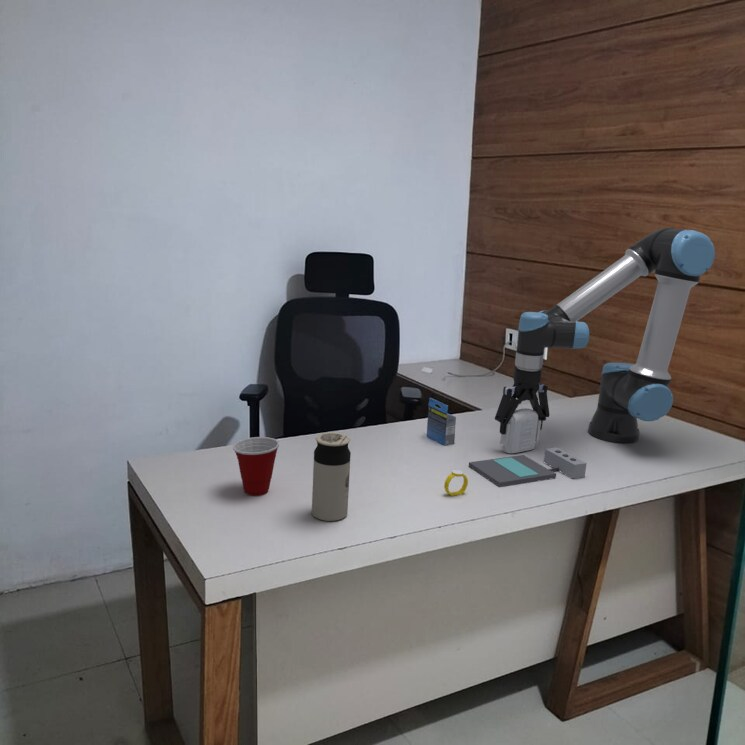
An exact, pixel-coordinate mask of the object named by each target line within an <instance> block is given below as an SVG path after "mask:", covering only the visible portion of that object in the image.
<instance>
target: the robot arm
mask: <svg viewBox="0 0 745 745" xmlns="http://www.w3.org/2000/svg"><path fill="white" fill-rule="evenodd" d="M715 257H716V249H715V246H714V243H713V242H712V240H711V239H710V237H709V236H707V235H706V233H705V234H704V233H703V232H700V231H698V230H694V229H684V228H674V227H664V228H660V229H657V230H655V231H653V232H651V233H649V234H647V235H646V236H645V237H643V238H641V239H640V240H639V241H636V242H635V243H634V244H633V245H631V246H630V247H629V248H627V249H626V250H625V254H624V255H623V256H622V257H621V258H619V259H618V260H616V261H614V262H613V263H612V264H610V266H608V267H607V268H605V269H604V270H603V271H601V272H600V273H598V275H596V276H594V277H593V278H592V279H590V280H589V281H588V282H586V283H585V284H583V285H582V286H580V287H579V288H578V289H577V290H575V291H574V292H573V293H571V294H570V295H568V296H567V297H565V298H564V299H563V300H561V301H560V302H558V303H557V304H556V305H554V306H553V307H552V308H550V309H548V310H540V311H537V312H536V311H526V312H525V311H524V312H523V313H522V314H521V315H520V317H519V318H520V319H519V324H518V328H517V330H518V332H517V343H516V344H517V345H516V351H515V359H514V365H515V367H514V370H513V376H512V377H513V378H512V379H513V385H512V386H511V387H507V386H504V387H503V389H502V396H501V400H500V401H499V405H498V408H497V411H496V413H495V417H494V421H497V422H499V423H500V424H499V434H500V440H499V443H500V445H502V446H503V445H504V446H508V441H509V432H510V424H509V423H508V422H509V420H510V419H511V417H512V415H513V414H514V412H515V410H517V408H518V407H519V405H521V404H522V402H524V401H529V403H530V405H531V409H532V410H535V411H536V412H537V414H538V424H537V431H536V439H535V443H539V442H540V435H541V434H540V432H541V431H542V429H543V422H545V421H546V420H547V418H549V417H550V414H551V413H550V409H549V408H550V407H549V400H548V388H549V387H548V385H546V384H543V383H540V382H541V379H542V370H541V369H543V365H544V355H545V348H546V349H552V348H553V349H570V350H575V349H583V348H585V347H586V346H587V345H588V343H589V342H590V340H589V339H590V329H589V326H588V324H587V323H586V322H584V321H579V320H581V319H582V318H583V317H585V316H587V315H588V314H590V312H592V311H594V310H595V309H596V308H597V307H599V306H600V305H602V304H603V303H605V302H606V301H607V300H609V299H610V298H612V297H613V296H615V295H616V294H618V293H619V292H620V291H621V290H623V289H624V288H625V287H627V286H628V285H630V284H631V283H633V282H634V281H636V280H637V279H638V278H639V277H647V276H648V275H651V274H652V273H653V272H654V276H655V278H656V279H657V285H656V286H657V287H656V289H655V293H654V298H653V302H652V304H651V309H650V312H649V316H648V319H647V323H646V326H645V330H644V334H643V338H642V341H641V345H640V348H639V353H638V356H637V359H636V363H630V362H628V363H627V362H607V363H605V364H604V365H603V367H602V371H601V377H600V378H601V379H600V383H599V384H600V385H599V392H598V400H597V405H596V406H597V407H596V410H595V412H594V414H593V416H592V417H591V418H592V419H591V421H590V422H589V423H588V429H587V433H589V435H591V436H593V437H595V438H597V439H600V440H603V441H607V442H610V443H611V442H612V443H619V444H620V443H621V444H630V443H635V442H637V441H638V440H639V437H640V429H639V426H638V425H639V424H638V419H639V420H641V421H643V422H655V421H658V420H660V419H661V418H663V417H665V416H666V415H667V414H668V413H669V412H670V410H671V408H672V406H673V403H674V395H673V393H672V390H671V389H670V388H669V387H670V384H671V381H672V376H671V374H670V373H669V367H670V362H671V359H672V356H673V353H674V350H675V349H674V348H675V345H676V341H677V338H678V335H679V331H680V327H681V324H682V321H683V316H684V312H685V309H686V306H687V303H688V300H689V297H690V291H691V289H692V288H694V287H695V286H696V285H698V284H699V282H700V278H701V276H702V275H703V274H705V273H706V271H709V269H711V267H712V266H713V263H714V261H715Z"/></svg>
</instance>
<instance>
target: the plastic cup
mask: <svg viewBox="0 0 745 745" xmlns="http://www.w3.org/2000/svg"><path fill="white" fill-rule="evenodd" d="M279 447H280V442H279V441H278V440H277V439H276V438H272V437H267V436H254V437H248V438H243V439H241V440H237V441H236V442H235V443H234V444H233V445H232V450H233V451H234V453H235V455H236V458H237V462H238V466H239V468H238V469H239V473H240V478H241V483H242V488H243V493H245V494H246V495H248V496H253V497H255V496H258V497H259V496H264V495H266V494H267V493H268V492H269V490H270V486H271V481H272V479H273V478H272V477H273V471H274V466H275V462H276V460H275V459H276V457H277V452H278V449H279Z"/></svg>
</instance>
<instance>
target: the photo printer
mask: <svg viewBox="0 0 745 745" xmlns="http://www.w3.org/2000/svg"><path fill="white" fill-rule="evenodd" d="M508 423H509V424H510V432H509V441H508V446H504V445H503V444H502V450H503V451H504V453H507V454H516V453H522V452H526V451H531V450H532V451H533V450H534V449H535V445H536V442H535V439H536V431H537V424H538V414H537V412H536V411H535V410H533V408H520V409H519V408H518V409H516V410H515V412H514V414H513V415H512V417H511V419H510V420H509V422H508Z"/></svg>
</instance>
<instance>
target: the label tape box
mask: <svg viewBox="0 0 745 745" xmlns="http://www.w3.org/2000/svg"><path fill="white" fill-rule="evenodd" d="M428 400H429V401H428V406H427V409H428V411H427V424H426V437H427V438H429V439H431V440H433V441H435V442H437V443H439V444H441V445H444V446H450V445H453V444H455V440H456V424H457V422H456V421H457V416H455V415H452V414H450V413H448V410H449V405H447V404H445V403H443V402H440V401H439V400H437V399H434V398H432V397H429V399H428ZM436 405H438V406H439V407H438V406H436Z"/></svg>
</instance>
